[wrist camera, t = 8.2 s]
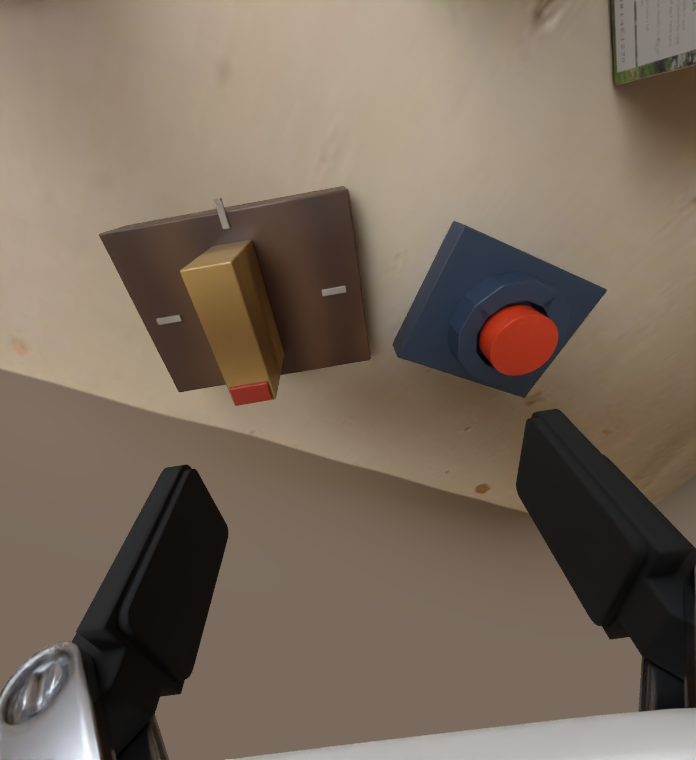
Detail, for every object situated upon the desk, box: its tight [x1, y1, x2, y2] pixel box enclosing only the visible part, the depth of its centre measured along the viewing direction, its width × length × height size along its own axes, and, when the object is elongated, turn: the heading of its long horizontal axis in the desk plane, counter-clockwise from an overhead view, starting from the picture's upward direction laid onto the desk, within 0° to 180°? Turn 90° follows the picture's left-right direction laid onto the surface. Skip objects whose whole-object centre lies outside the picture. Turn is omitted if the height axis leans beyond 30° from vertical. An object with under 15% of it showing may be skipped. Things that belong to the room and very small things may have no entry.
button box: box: [393, 221, 607, 398], centre depth 23 cm, size 11×9×4 cm
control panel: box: [99, 186, 371, 392], centre depth 21 cm, size 13×11×3 cm
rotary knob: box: [180, 240, 284, 406], centre depth 18 cm, size 7×2×5 cm, turn 9°
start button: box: [479, 304, 558, 376], centre depth 21 cm, size 4×4×2 cm
